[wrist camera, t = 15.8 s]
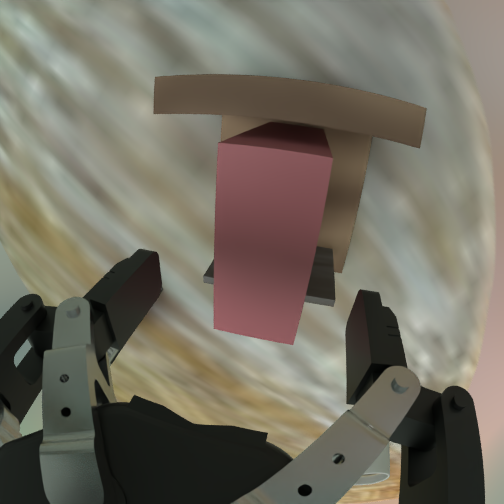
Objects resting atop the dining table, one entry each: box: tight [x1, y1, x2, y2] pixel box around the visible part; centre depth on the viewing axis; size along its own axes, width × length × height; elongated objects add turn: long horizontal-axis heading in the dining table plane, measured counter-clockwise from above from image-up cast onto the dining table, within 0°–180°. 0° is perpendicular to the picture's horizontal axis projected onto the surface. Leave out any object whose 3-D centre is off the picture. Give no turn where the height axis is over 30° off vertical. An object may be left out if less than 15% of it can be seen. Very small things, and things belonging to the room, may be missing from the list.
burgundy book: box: [214, 122, 333, 345], centre depth 19 cm, size 10×4×14 cm, turn 175°
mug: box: [354, 443, 390, 485], centre depth 41 cm, size 11×10×10 cm
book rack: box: [154, 74, 427, 306], centre depth 21 cm, size 17×13×13 cm
